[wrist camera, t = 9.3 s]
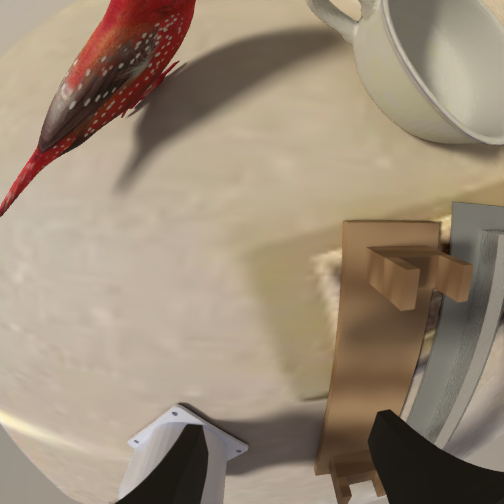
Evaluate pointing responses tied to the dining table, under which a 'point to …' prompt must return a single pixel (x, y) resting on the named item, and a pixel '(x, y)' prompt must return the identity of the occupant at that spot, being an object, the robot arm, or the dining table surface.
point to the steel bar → (472, 338)
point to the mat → (454, 311)
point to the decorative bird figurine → (109, 77)
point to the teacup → (429, 65)
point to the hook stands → (380, 335)
